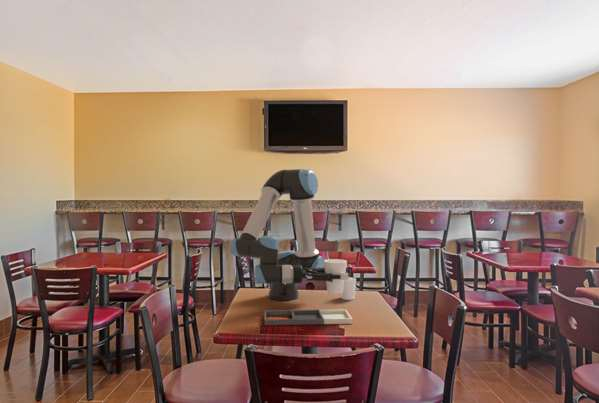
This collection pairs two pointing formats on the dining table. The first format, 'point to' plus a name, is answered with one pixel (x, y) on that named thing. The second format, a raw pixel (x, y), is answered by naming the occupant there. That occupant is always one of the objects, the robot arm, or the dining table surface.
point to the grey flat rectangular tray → (310, 317)
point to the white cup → (349, 289)
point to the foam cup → (335, 267)
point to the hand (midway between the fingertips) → (345, 273)
